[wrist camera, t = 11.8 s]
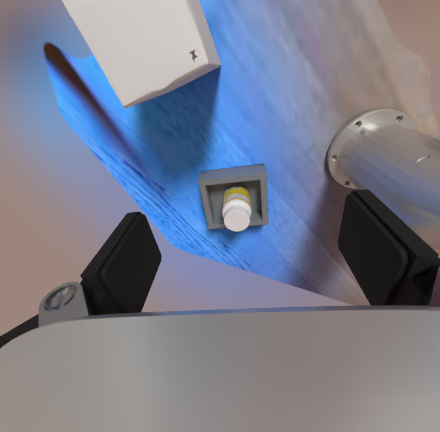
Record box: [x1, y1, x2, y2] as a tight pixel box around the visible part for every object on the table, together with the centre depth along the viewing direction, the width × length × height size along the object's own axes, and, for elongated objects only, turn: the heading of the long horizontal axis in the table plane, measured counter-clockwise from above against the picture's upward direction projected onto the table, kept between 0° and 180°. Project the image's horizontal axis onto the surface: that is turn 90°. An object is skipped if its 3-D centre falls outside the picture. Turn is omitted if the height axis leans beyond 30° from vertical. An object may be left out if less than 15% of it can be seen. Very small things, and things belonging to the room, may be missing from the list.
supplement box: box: [62, 0, 221, 108], centre depth 23 cm, size 9×9×15 cm
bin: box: [198, 164, 268, 229], centre depth 40 cm, size 11×10×4 cm
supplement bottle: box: [222, 184, 251, 231], centre depth 37 cm, size 5×5×8 cm
